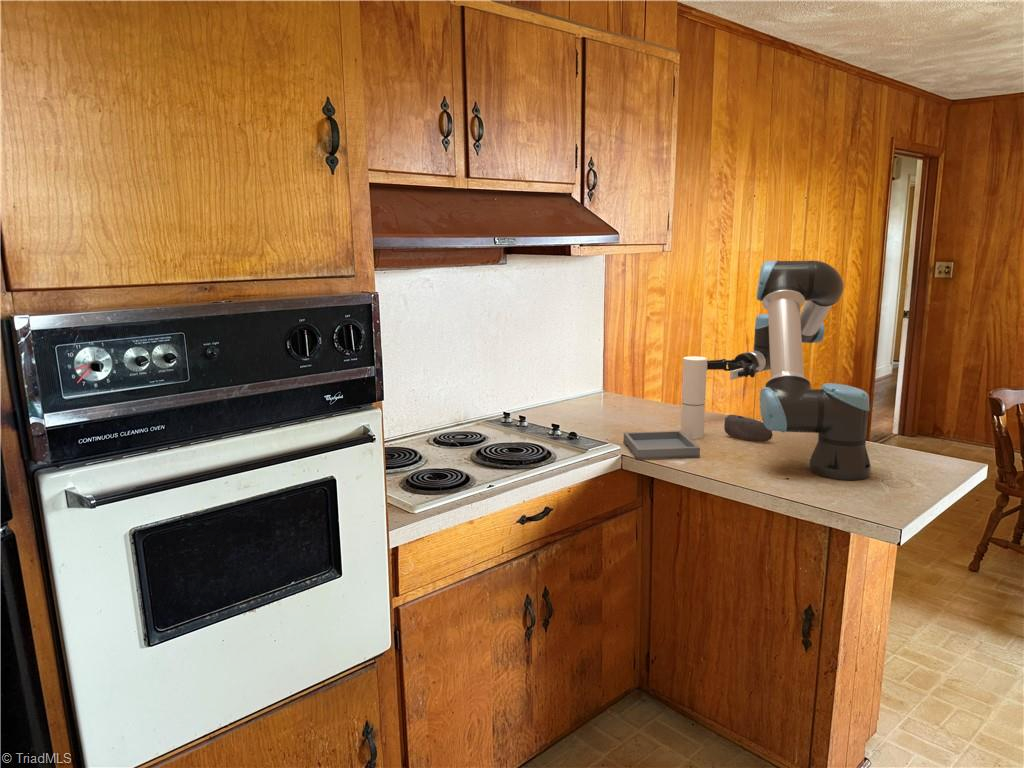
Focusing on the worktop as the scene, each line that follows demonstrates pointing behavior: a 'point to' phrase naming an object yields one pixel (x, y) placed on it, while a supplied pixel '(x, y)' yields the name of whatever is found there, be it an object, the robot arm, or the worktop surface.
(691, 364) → the cylindrical container
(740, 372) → the robot arm
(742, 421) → the perforated stone tool
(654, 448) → the slate tray
